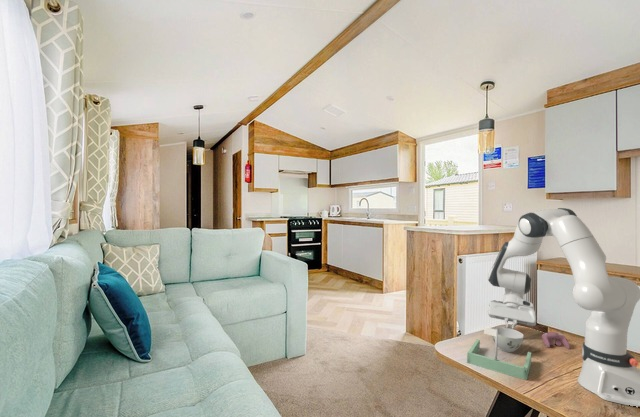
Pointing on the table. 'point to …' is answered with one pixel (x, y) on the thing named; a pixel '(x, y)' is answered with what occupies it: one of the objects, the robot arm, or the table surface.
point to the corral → (496, 364)
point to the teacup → (508, 339)
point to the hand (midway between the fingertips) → (509, 328)
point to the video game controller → (557, 336)
